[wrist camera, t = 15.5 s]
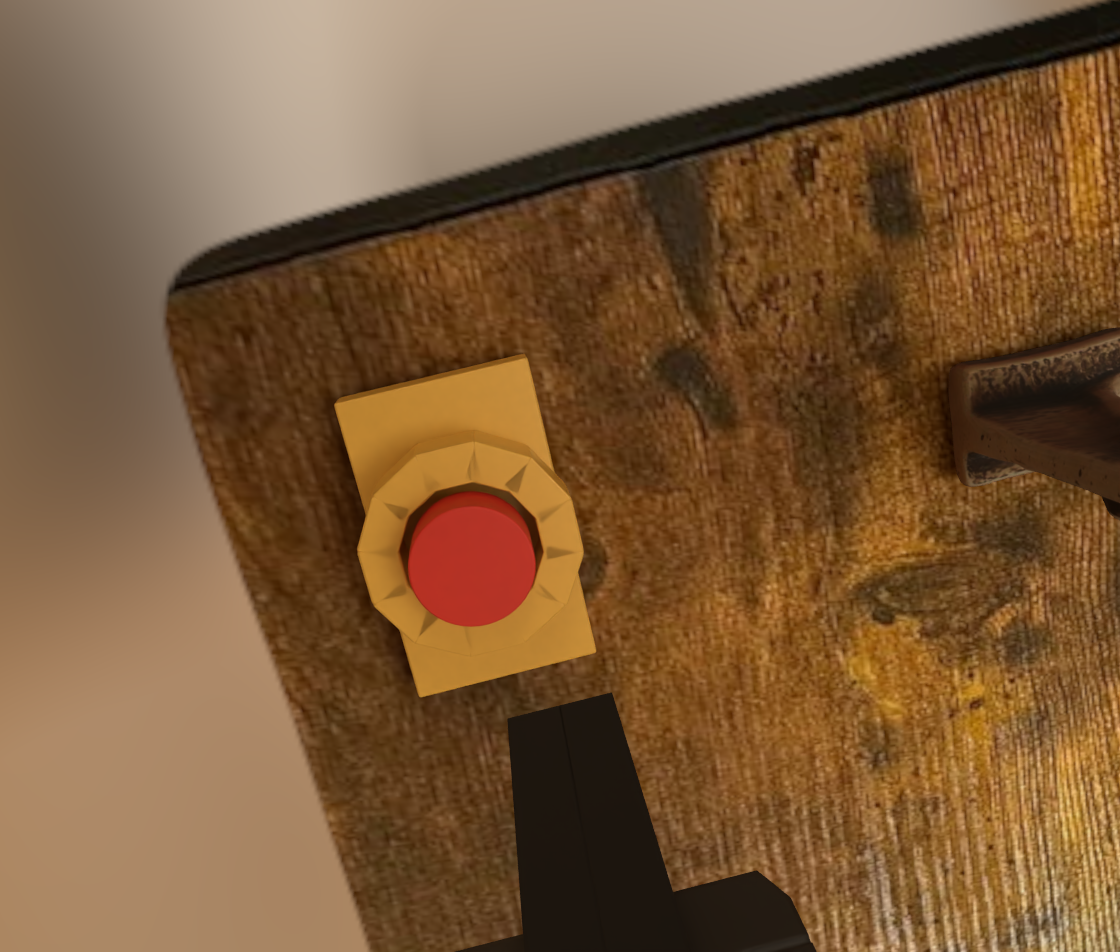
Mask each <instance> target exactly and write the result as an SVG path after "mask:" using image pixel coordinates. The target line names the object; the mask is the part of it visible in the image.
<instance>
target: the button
mask: <svg viewBox="0 0 1120 952" xmlns="http://www.w3.org/2000/svg"><path fill="white" fill-rule="evenodd" d="M535 570H536V559H535V554H534V549H533V545H532V540H531V536H530V533H529V530H528V527H527V525H526V523H525V521H524V519H523V518H522V516H521V515H520V514H519V512H518V511H517V510H516V509H515V508H514V507H513V506H512V505H510V504H509V503H508V502H506V501H505V500H503V499H501V498H499V497H497V496H495V495H492V494H489V493H484V492H478V491H466V492H459V493H455V494H452V495H449V496H447V497H444V498H442V499H441V500H439V501H437V502H436V503H434V504H433V505H432V506H431V507H430V508H428V510H427V511H426V512H425V513H424V514H423V515H422V517H421V518H420V519H419V521H418V523H417V525H416V527H415V530H414V532H413V536H412V541H411V546H410V552H409V558H408V576H409V581H410V584H411V587H412V590H413V592H414V594H415V596H416V597H417V599H418V600H419V602H420V603H421V604H422V605H423V606H424V607H425V608H426V610H428V611H429V612H430V613H431V614H433V615H434V616H436V617H437V618H439V619H441V620H443V621H445V622H448V623H451V624H454V625H459V626H467V627H475V626H483V625H488V624H491V623H494V622H497V621H499V620H501V619H503V618H505V617H507V616H508V615H510V614H511V613H512V612H513V611H515V610H516V609H517V608H518V607H519V606H520V605H521V604H522V602H523V601H524V600H525V598H526V597H527V595H528V593H529V592H530V590H531V587H532V584H533V581H534V577H535Z"/></svg>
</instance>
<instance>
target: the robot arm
mask: <svg viewBox="0 0 1120 952" xmlns="http://www.w3.org/2000/svg"><path fill="white" fill-rule="evenodd" d="M508 733H509V746H510V760H511V774H512V788H513V801H514V815H515V829H516V843H517V857H518V870H519V884H520V898H521V912H522V926H523V934H522V935H518V936H514V937H510V938H506V939H502V940H499V941H495V942H491V943H487V944H483V945H479V946H475V947H471V948H468V949H464V950H460V951H456V952H816V950H815V947H814V945H813V943H811V942H810V939H809V935H808V933H807V931H806V929H805V927H804V925H803V923H802V921H801V918H800V916H799V914H798V912H797V910H796V908H795V906H794V904H793V902H792V900H791V898H790V897H789V896H788V895H787V894H786V893H784V892H783V891H782V890H781V889H779V888H778V887H777V886H776V885H774V884H773V883H772V882H771V881H769V880H768V879H767V878H766V877H764V876H763V875H762V874H761V873H759V872H758V871H753V872H749V873H745V874H741V875H737V876H733V877H730V878H726V879H722V880H718V881H714V882H710V883H706V884H702V885H699V886H695V887H691V888H687V889H683V890H679V891H675V892H673V891H672V887H671V884H670V881H669V878H668V874H667V871H666V868H665V865H664V861H663V858H662V855H661V852H660V848H659V845H658V842H657V838H656V835H655V832H654V829H653V825H652V822H651V819H650V816H649V812H648V809H647V806H646V803H645V799H644V796H643V793H642V789H641V786H640V783H639V780H638V776H637V773H636V770H635V767H634V763H633V760H632V757H631V754H630V750H629V747H628V744H627V740H626V737H625V734H624V731H623V727H622V724H621V721H620V718H619V714H618V711H617V708H616V705H615V701H614V698H613V695H612V693H608V694H604V695H600V696H596V697H592V698H588V699H584V700H580V701H576V702H572V703H568V704H564V705H560V706H556V707H552V708H548V709H544V710H540V711H536V712H532V713H528V714H524V715H520V716H516V717H512V718H508Z"/></svg>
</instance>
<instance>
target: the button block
mask: <svg viewBox="0 0 1120 952" xmlns="http://www.w3.org/2000/svg"><path fill="white" fill-rule="evenodd" d="M334 408H335V411H336V415H337V418H338V421H339V425H340V428H341V432H342V435H343V439H344V442H345V445H346V449H347V452H348V456H349V459H350V463H351V466H352V469H353V473H354V476H355V480H356V483H357V487H358V490H359V493H360V497H361V500H362V504H363V507H364V511H365V514H366V518H365V521H364V525H363V529H362V532H361V536H360V540H359V543H358V547H357V551H358V553H357V554H358V558H359V561H360V564H361V568H362V571H363V575H364V578H365V581H366V585H367V588H368V591H369V595H370V598H371V601H372V603H373V604H374V607H375V608H376V609H377V610H378V611H379V612H381V613H382V614H383V615H384V616H385V617H386V618H387V619H388V620H389V621H390V622H391V623H392V624H394V625H395V626H396V627H397V628H398V629H399V630H400V634H401V637H402V641H403V644H404V647H405V651H406V654H407V658H408V661H409V665H410V668H411V671H412V675H413V678H414V682H415V685H416V689H417V692H418V695H419V697H424V696H428V695H432V694H436V693H440V692H444V691H448V690H452V689H456V688H459V687H463V686H467V685H471V684H475V683H479V682H483V681H487V680H491V679H495V678H499V677H503V676H507V675H511V674H515V673H518V672H522V671H526V670H530V669H534V668H538V667H542V666H546V665H550V664H554V663H558V662H562V661H566V660H570V659H574V658H577V657H581V656H585V655H589V654H593V653H596V646H595V642H594V638H593V634H592V629H591V625H590V621H589V617H588V612H587V608H586V604H585V600H584V595H583V591H582V587H581V583H580V578H579V574H578V570H579V567H580V564H581V561H582V558H583V555H584V552H583V551H584V549H583V545H582V540H581V536H580V532H579V527H578V523H577V519H576V515H575V510H574V506H573V502H572V499H571V496H570V494H569V492H568V489H567V487H566V485H565V483H564V482H563V481H562V480H561V479H560V478H559V477H558V476H557V475H556V474H555V472H554V468H553V464H552V460H551V455H550V451H549V447H548V443H547V438H546V434H545V430H544V426H543V421H542V417H541V413H540V409H539V404H538V400H537V396H536V392H535V387H534V383H533V379H532V375H531V370H530V366H529V362H528V359H527V357H526V355H525V354H520V355H516V356H511V357H507V358H503V359H499V360H495V361H491V362H486V363H482V364H478V365H474V366H470V367H466V368H461V369H457V370H453V371H449V372H445V373H440V374H436V375H432V376H428V377H424V378H420V379H415V380H411V381H407V382H403V383H399V384H395V385H390V386H386V387H382V388H378V389H374V390H370V391H365V392H361V393H357V394H353V395H349V396H345V397H340V398H339V399H338V400H337V401H336V403H335V404H334ZM466 491H478V492H484V493H489V494H492V495H495V496H497V497H499V498H501V499H503V500H505V501H506V502H508V503H509V504H510V505H512V506H513V507H514V508H515V509H516V510H517V511H518V512H519V514H520V515H521V516H522V518H523V519H524V521H525V523H526V525H527V527H528V530H529V533H530V536H531V540H532V545H533V549H534V554H535V559H536V570H535V577H534V581H533V584H532V587H531V590H530V592H529V593H528V595H527V597H526V598H525V600H524V601H523V602H522V604H521V605H520V606H519V607H518V608H517V609H516V610H515V611H513V612H512V613H511V614H510V615H508V616H507V617H505V618H503V619H501V620H499V621H497V622H494V623H491V624H488V625H483V626H475V627H467V626H459V625H454V624H451V623H448V622H445V621H443V620H441V619H439V618H437V617H436V616H434V615H433V614H431V613H430V612H429V611H428V610H426V608H425V607H424V606H423V605H422V604H421V603H420V602H419V600H418V599H417V597H416V596H415V594H414V592H413V590H412V587H411V584H410V581H409V576H408V558H409V552H410V546H411V541H412V536H413V532H414V530H415V527H416V525H417V523H418V521H419V519H420V518H421V517H422V515H423V514H424V513H425V512H426V511H427V510H428V508H430V507H431V506H432V505H433V504H434V503H436V502H437V501H439V500H441V499H442V498H444V497H447V496H449V495H452V494H455V493H459V492H466Z"/></svg>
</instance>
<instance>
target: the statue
mask: <svg viewBox="0 0 1120 952" xmlns="http://www.w3.org/2000/svg"><path fill="white" fill-rule="evenodd" d="M948 395H949V406H950V414H951V424H952V433H953V446H954V458H955V465H956V471H957V475H958V477H959V479H960V482H961V483H963V484H964V485H966V486H969V487H973V486H981V485H986V484H989V483H992V482H995V481H999V480H1002V479H1005V478H1010V477H1015V476H1019V475H1024V474H1027V473H1031V472H1040V473H1043V474H1045V475H1048V476H1050V477H1053V478H1055V479H1058V480H1061V481H1064V482H1067V483H1069V484H1072V485H1075V486H1078V487H1080V488H1083V489H1086V490H1088V491H1091V492H1093V493H1095V494H1098V495H1100V496H1102V498H1103V501H1104V503H1105V505H1106V508H1107V510H1108V512H1109V513H1110V514H1111V515H1112V516H1113V517H1114V518H1116V519H1118V520H1120V328H1111V329H1105V330H1101V331H1098V332H1095V333H1092V334H1089V335H1086V336H1083V337H1080V338H1076V339H1073V340H1069V341H1065V342H1061V343H1057V344H1053V345H1048V346H1044V347H1039V348H1034V349H1030V350H1026V351H1022V352H1018V353H1014V354H1009V355H1004V356H999V357H993V358H987V359H981V360H973V361H966V362H961V363H959V364H957V365H955V366H954V367H952V368H951V370H950V373H949V392H948Z"/></svg>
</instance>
